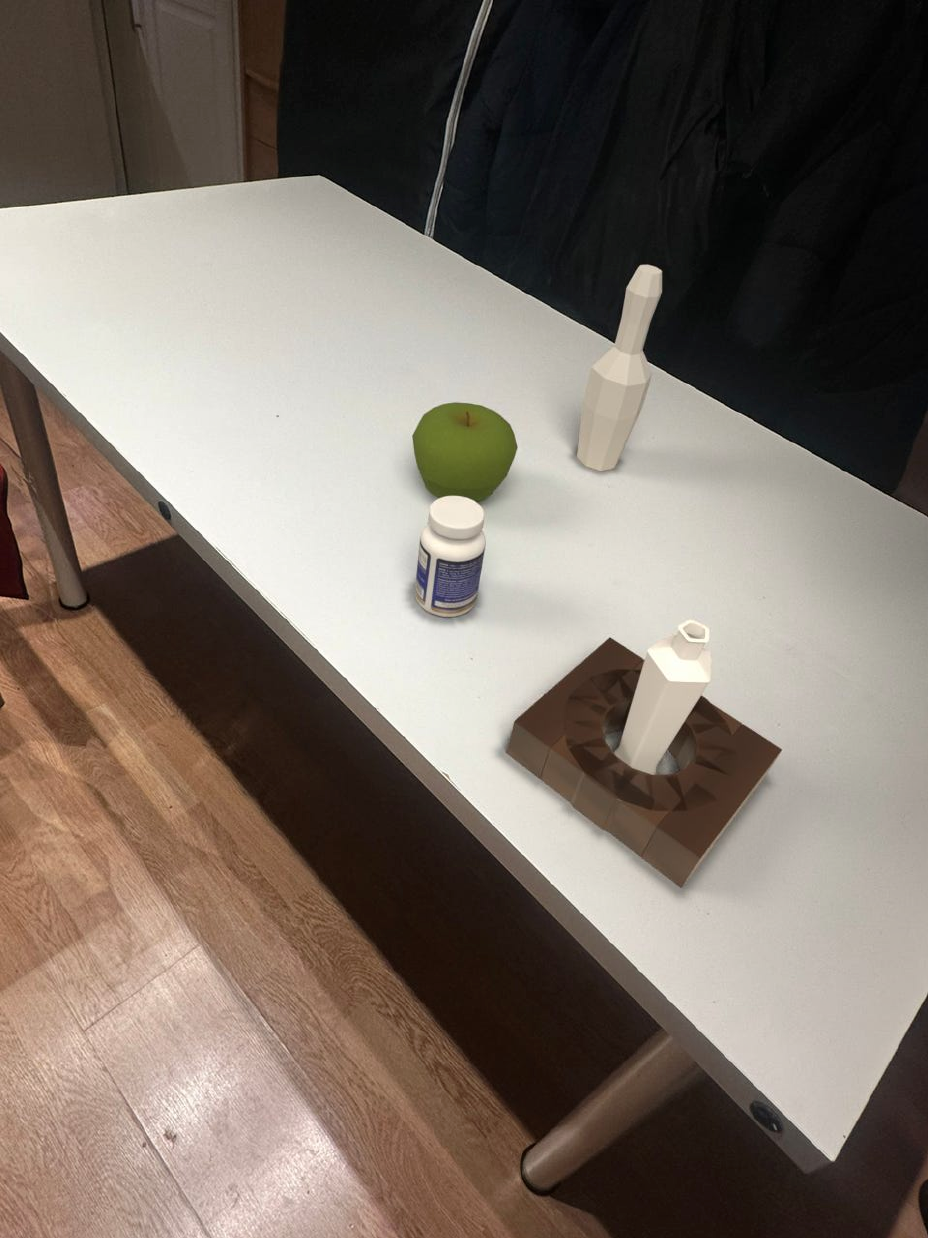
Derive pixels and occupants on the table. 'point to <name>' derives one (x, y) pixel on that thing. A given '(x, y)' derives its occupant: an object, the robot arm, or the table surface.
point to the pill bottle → (450, 556)
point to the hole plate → (629, 798)
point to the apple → (463, 450)
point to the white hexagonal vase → (665, 695)
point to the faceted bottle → (619, 377)
